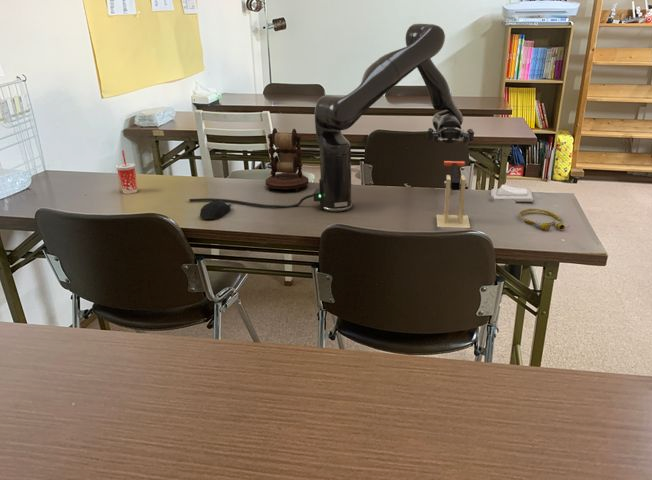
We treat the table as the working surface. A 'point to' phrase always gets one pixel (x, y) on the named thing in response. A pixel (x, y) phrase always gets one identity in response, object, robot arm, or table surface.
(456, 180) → the lever
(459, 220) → the bracket
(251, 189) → the table surface
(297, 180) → the brown spool stand
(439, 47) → the robot arm
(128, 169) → the beverage cup
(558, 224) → the extension cord
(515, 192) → the light switch
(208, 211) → the gaming mouse
